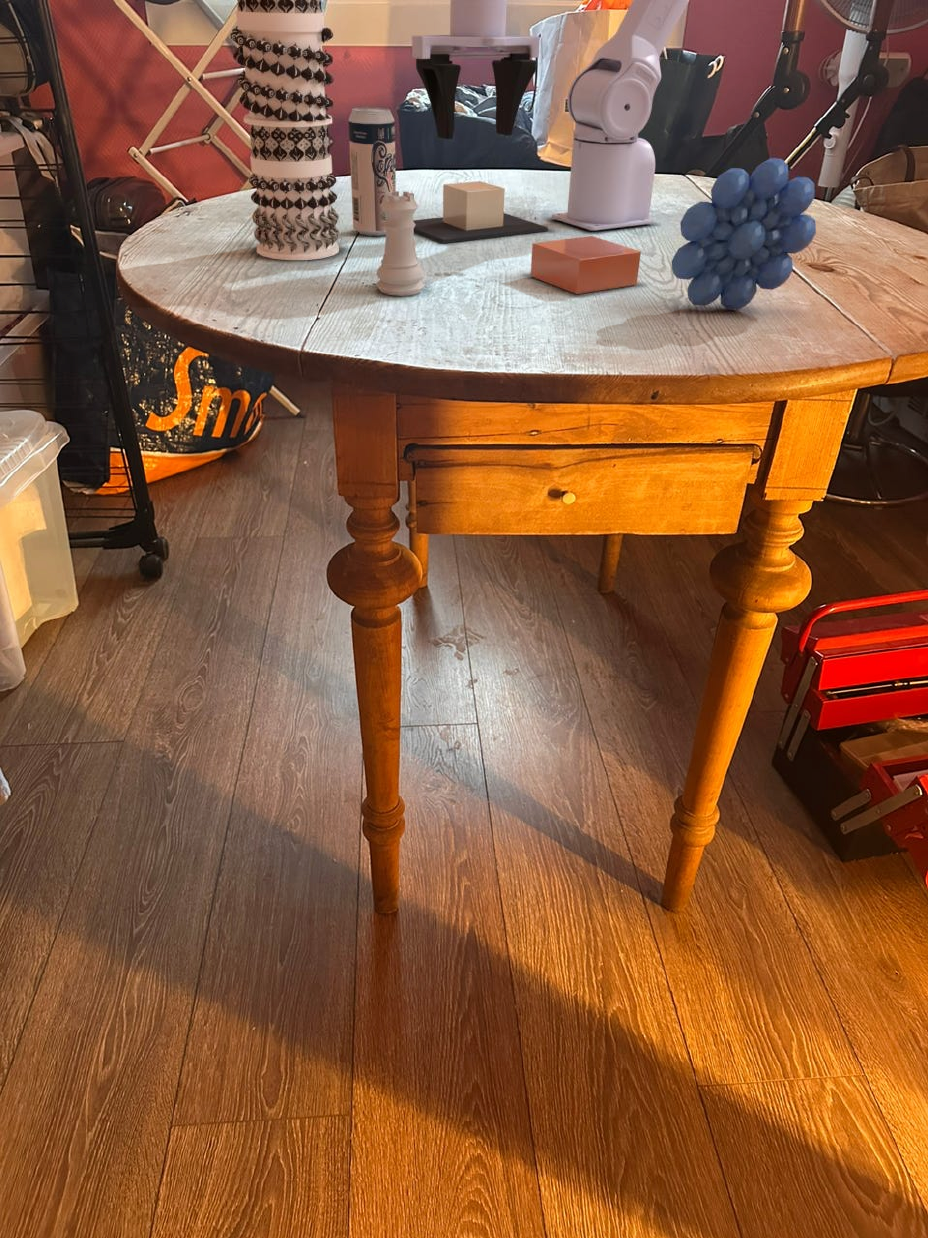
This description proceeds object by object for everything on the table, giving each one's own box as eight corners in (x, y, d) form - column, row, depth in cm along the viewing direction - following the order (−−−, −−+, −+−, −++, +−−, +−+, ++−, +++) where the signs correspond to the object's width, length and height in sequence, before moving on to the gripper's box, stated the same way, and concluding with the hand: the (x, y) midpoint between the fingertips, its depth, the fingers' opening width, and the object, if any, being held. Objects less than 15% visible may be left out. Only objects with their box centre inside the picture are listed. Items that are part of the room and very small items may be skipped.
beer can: (390, 238, 100) (387, 112, 93) (347, 235, 101) (342, 110, 94) (401, 228, 104) (399, 108, 97) (360, 226, 105) (355, 105, 98)
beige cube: (479, 218, 108) (480, 180, 106) (503, 226, 104) (504, 188, 102) (442, 222, 106) (443, 184, 103) (466, 230, 102) (466, 191, 100)
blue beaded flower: (782, 297, 84) (813, 151, 77) (806, 319, 78) (842, 163, 72) (655, 294, 84) (675, 147, 77) (671, 316, 78) (694, 160, 71)
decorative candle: (286, 236, 100) (263, -49, 85) (360, 246, 96) (348, -48, 82) (233, 253, 93) (199, -54, 79) (310, 265, 90) (288, -53, 75)
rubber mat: (498, 214, 112) (498, 211, 112) (547, 230, 105) (548, 227, 105) (397, 225, 105) (397, 221, 105) (443, 243, 99) (443, 239, 98)
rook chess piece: (375, 283, 85) (372, 188, 80) (424, 283, 85) (423, 189, 81) (375, 296, 81) (372, 198, 77) (426, 296, 81) (426, 198, 77)
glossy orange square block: (588, 267, 91) (591, 235, 90) (637, 284, 86) (641, 251, 85) (530, 275, 88) (532, 242, 86) (576, 294, 83) (579, 259, 81)
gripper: (437, -18, 86) (436, 144, 94) (561, -14, 93) (550, 137, 100) (401, -19, 91) (403, 135, 99) (520, -15, 98) (513, 129, 105)
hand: (475, 135), depth 100 cm, fingers open, 7 cm apart
